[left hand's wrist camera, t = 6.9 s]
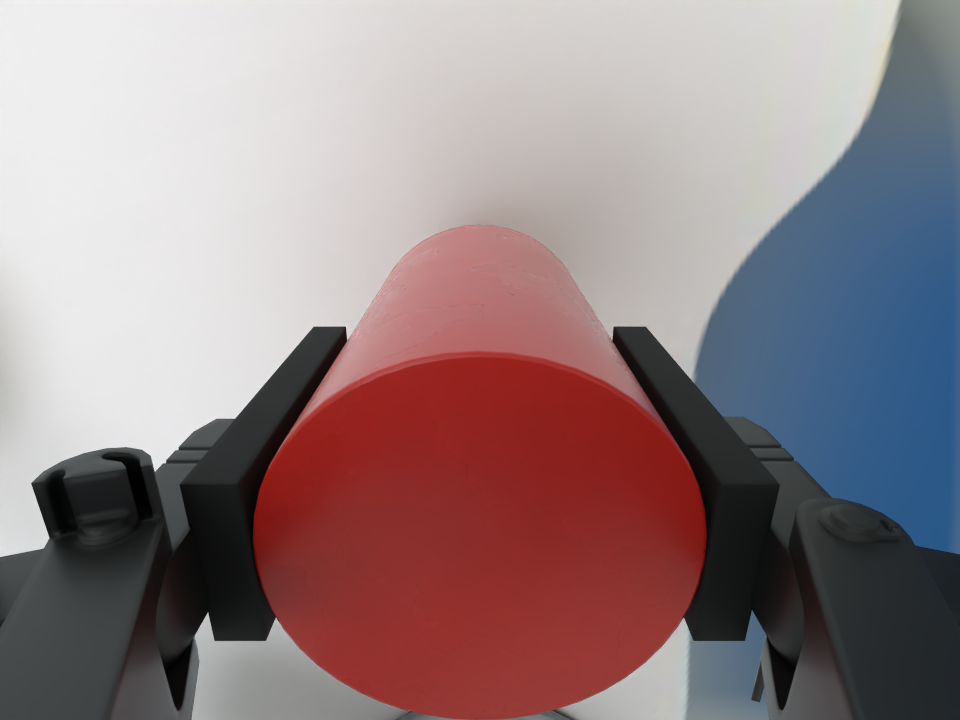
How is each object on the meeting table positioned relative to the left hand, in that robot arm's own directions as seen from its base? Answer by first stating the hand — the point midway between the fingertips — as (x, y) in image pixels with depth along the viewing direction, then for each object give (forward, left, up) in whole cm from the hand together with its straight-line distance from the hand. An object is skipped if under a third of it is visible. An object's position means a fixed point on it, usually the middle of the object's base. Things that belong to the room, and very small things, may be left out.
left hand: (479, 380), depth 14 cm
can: (0, 0, -4) cm, 4 cm away
